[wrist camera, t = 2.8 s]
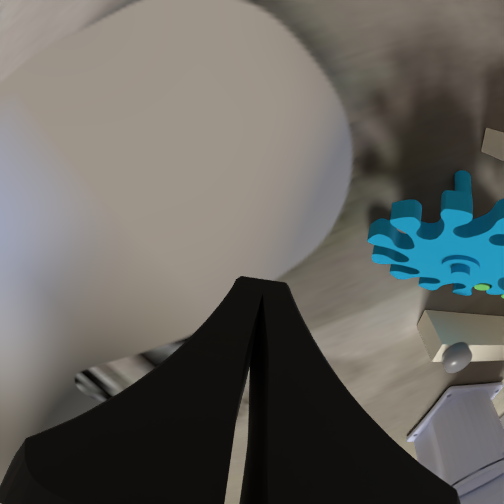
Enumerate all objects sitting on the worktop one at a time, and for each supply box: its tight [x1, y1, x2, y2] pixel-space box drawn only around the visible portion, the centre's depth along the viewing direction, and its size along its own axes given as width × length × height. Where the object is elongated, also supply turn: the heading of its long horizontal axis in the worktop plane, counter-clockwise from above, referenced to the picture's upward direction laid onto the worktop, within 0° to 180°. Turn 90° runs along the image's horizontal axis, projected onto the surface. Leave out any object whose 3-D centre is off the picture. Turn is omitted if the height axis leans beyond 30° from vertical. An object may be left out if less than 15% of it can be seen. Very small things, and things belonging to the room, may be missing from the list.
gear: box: [367, 170, 504, 298], centre depth 14 cm, size 11×6×10 cm
